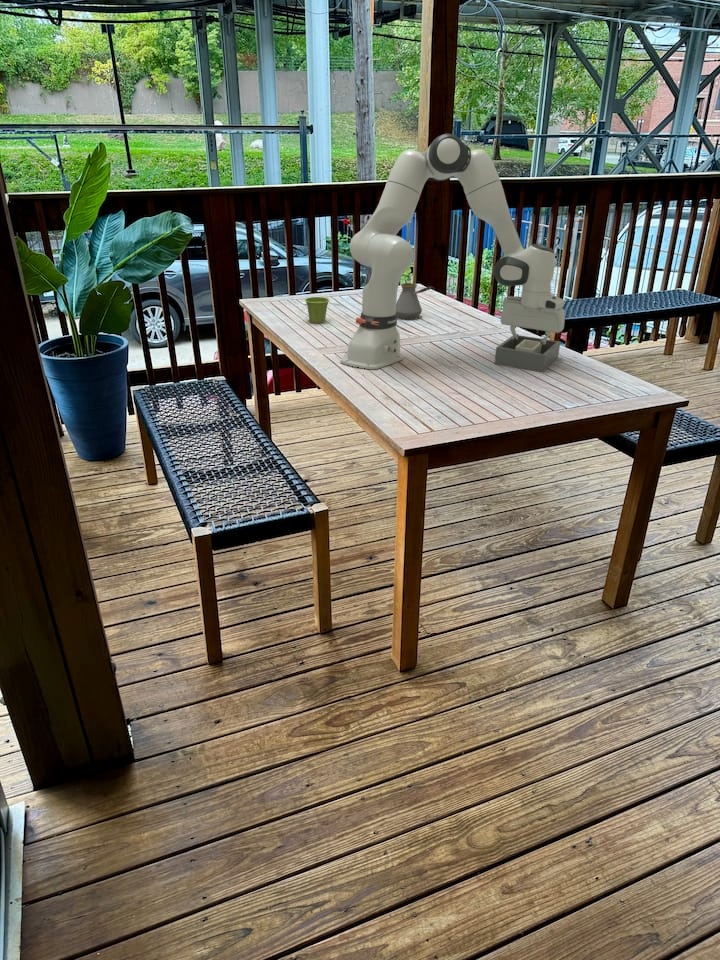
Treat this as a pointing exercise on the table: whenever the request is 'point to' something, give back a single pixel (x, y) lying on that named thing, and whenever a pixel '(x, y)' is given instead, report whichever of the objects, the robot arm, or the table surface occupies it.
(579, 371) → the table surface
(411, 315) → the coffee pot
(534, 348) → the small crate
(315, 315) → the plant pot
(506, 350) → the big crate
